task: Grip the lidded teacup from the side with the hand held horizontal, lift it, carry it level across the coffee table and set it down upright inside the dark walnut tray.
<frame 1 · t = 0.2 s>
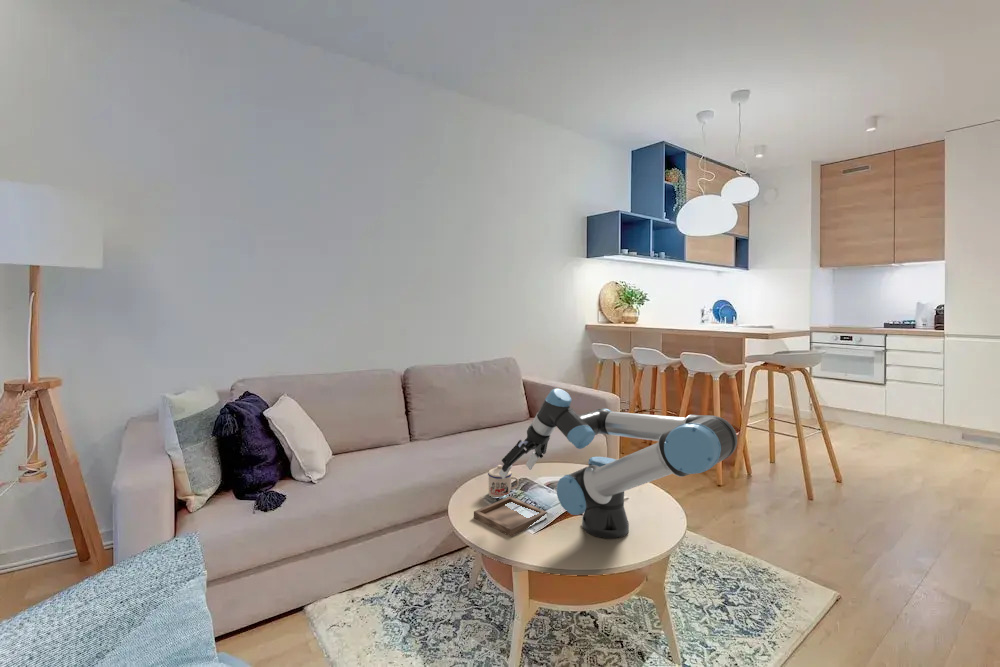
hand: (515, 471, 166), 15 cm above the table, tool tilted 35°, fingers open, 13 cm apart
teacup with lid: (503, 495, 182), on the table
tray: (510, 518, 162), on the table
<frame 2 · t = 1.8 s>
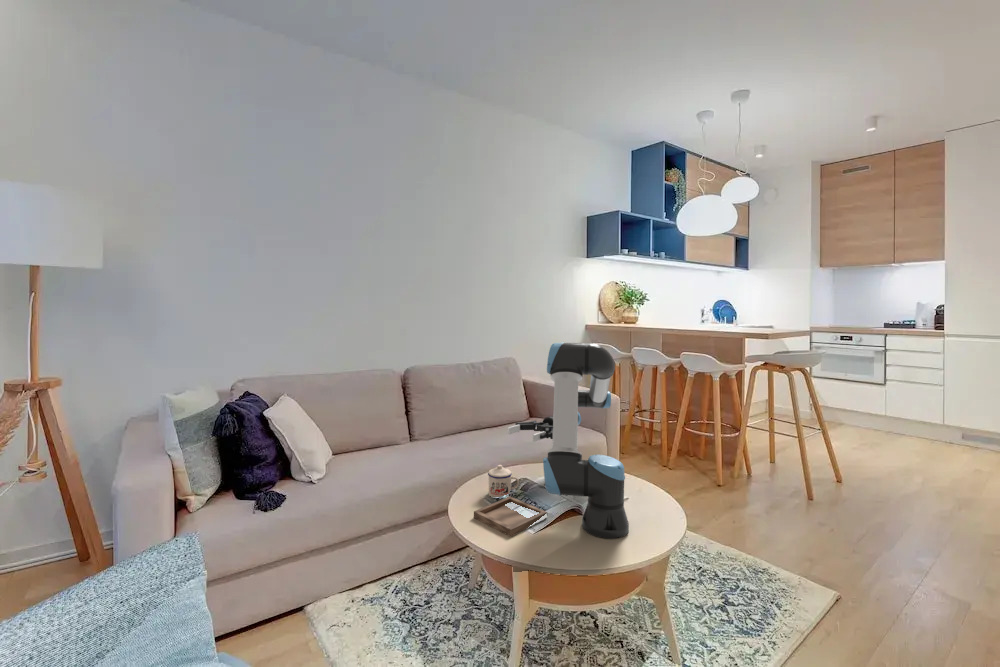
hand: (520, 434, 187), 22 cm above the table, tool horizontal, fingers open, 13 cm apart
nothing on the table moved.
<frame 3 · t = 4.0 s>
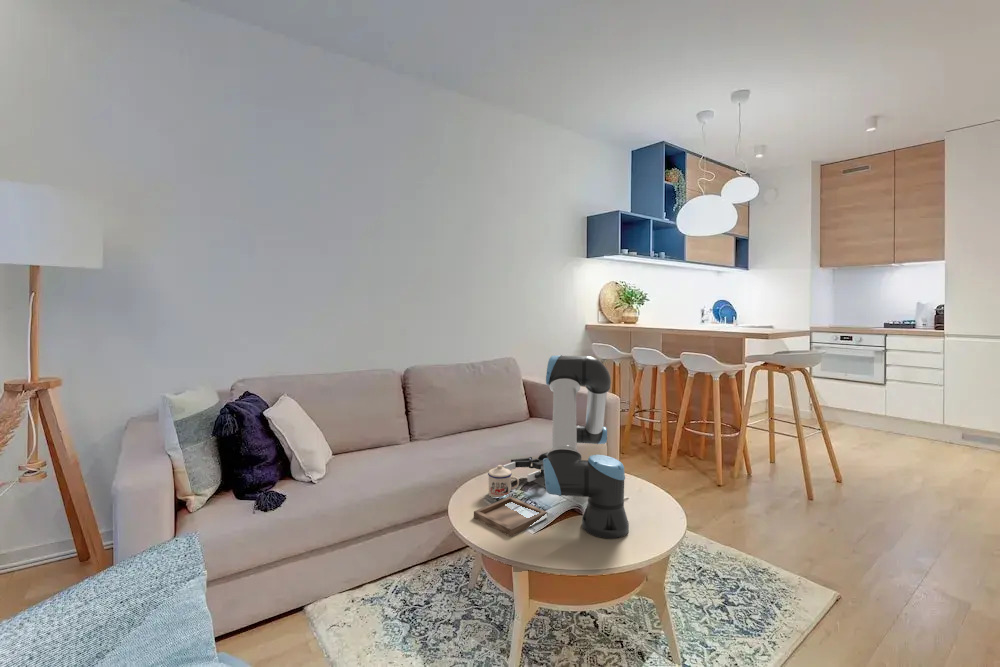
hand: (515, 473, 186), 7 cm above the table, tool horizontal, fingers open, 13 cm apart
nothing on the table moved.
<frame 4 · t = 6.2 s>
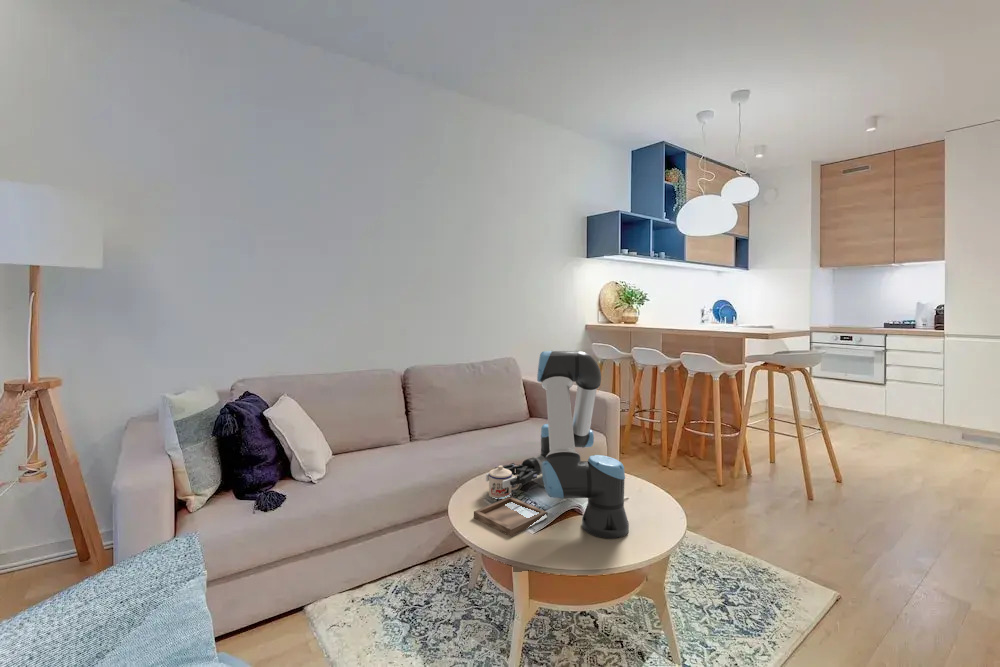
hand: (494, 481, 178), 7 cm above the table, tool horizontal, fingers closed on teacup with lid, 8 cm apart
teacup with lid: (503, 495, 181), on the table, touching gripper
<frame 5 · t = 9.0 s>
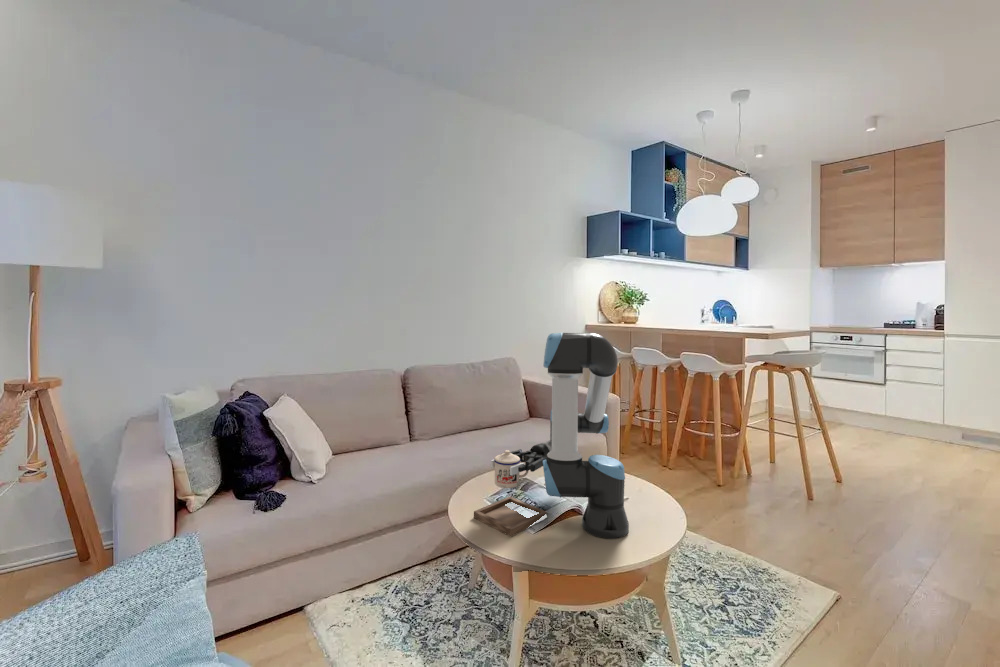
hand: (500, 467, 160), 18 cm above the table, tool horizontal, fingers closed on teacup with lid, 8 cm apart
teacup with lid: (511, 484, 163), point 11 cm above the table, touching gripper
when the fingers open (9 cm above the table, at t = 11.5 s): teacup with lid moves 3 cm, resting on tray.
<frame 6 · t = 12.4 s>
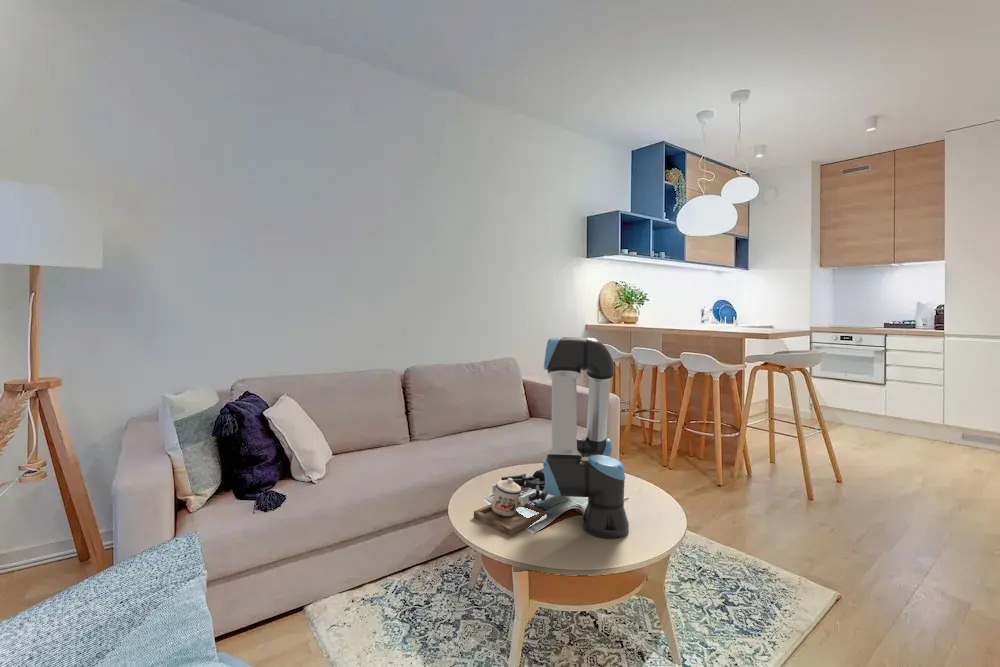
hand: (506, 494, 160), 9 cm above the table, tool horizontal, fingers open, 13 cm apart
teacup with lid: (507, 511, 164), point 1 cm above the table, touching gripper, tray
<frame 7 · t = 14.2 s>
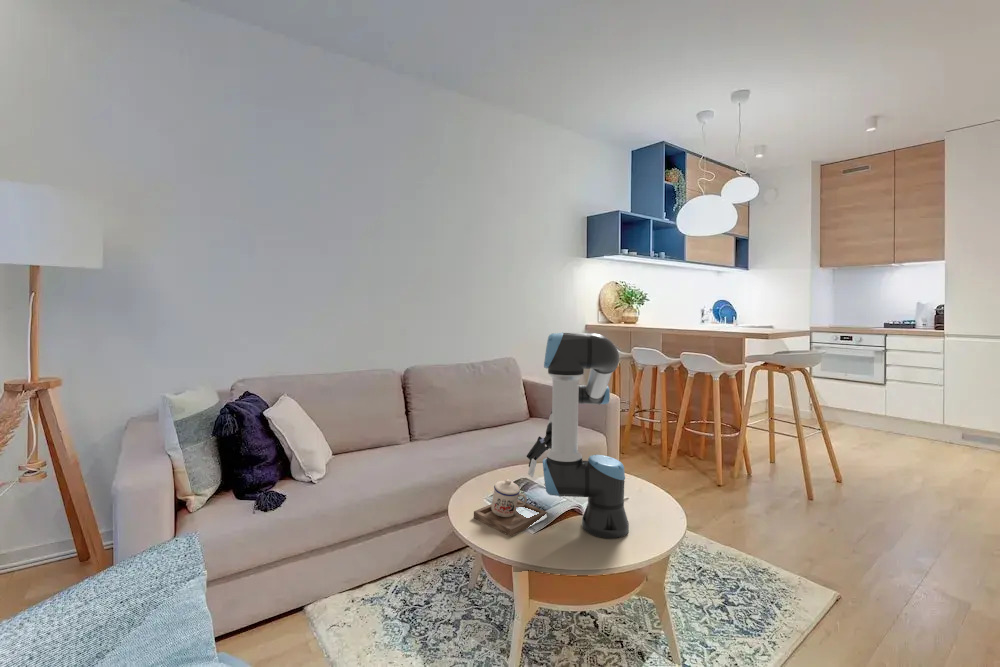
hand: (545, 475, 177), 9 cm above the table, tool tilted 45°, fingers open, 13 cm apart
teacup with lid: (507, 511, 164), point 1 cm above the table, touching tray
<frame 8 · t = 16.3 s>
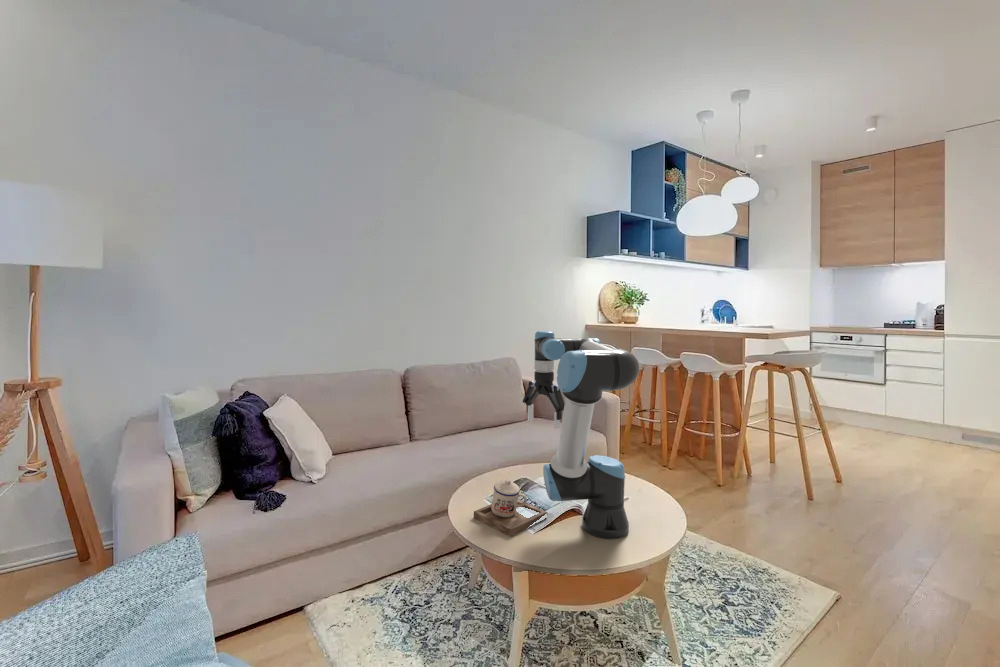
hand: (543, 424, 184), 27 cm above the table, tool pointing down, fingers open, 13 cm apart
nothing on the table moved.
at the end: teacup with lid inside the target area on the tray (2.5 cm from its centre), point 1.2 cm above the tray's base; teacup with lid tilted 10°; the gripper is holding nothing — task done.
